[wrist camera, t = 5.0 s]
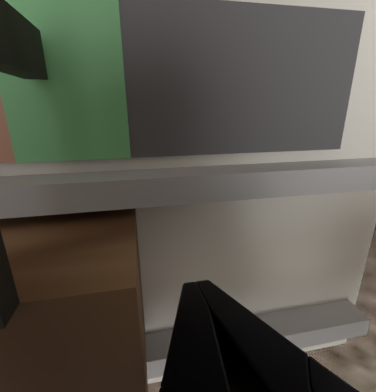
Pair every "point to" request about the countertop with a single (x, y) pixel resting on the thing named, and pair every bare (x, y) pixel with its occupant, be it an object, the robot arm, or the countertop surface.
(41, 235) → the slider
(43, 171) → the gauge base
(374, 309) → the countertop surface
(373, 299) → the countertop surface
